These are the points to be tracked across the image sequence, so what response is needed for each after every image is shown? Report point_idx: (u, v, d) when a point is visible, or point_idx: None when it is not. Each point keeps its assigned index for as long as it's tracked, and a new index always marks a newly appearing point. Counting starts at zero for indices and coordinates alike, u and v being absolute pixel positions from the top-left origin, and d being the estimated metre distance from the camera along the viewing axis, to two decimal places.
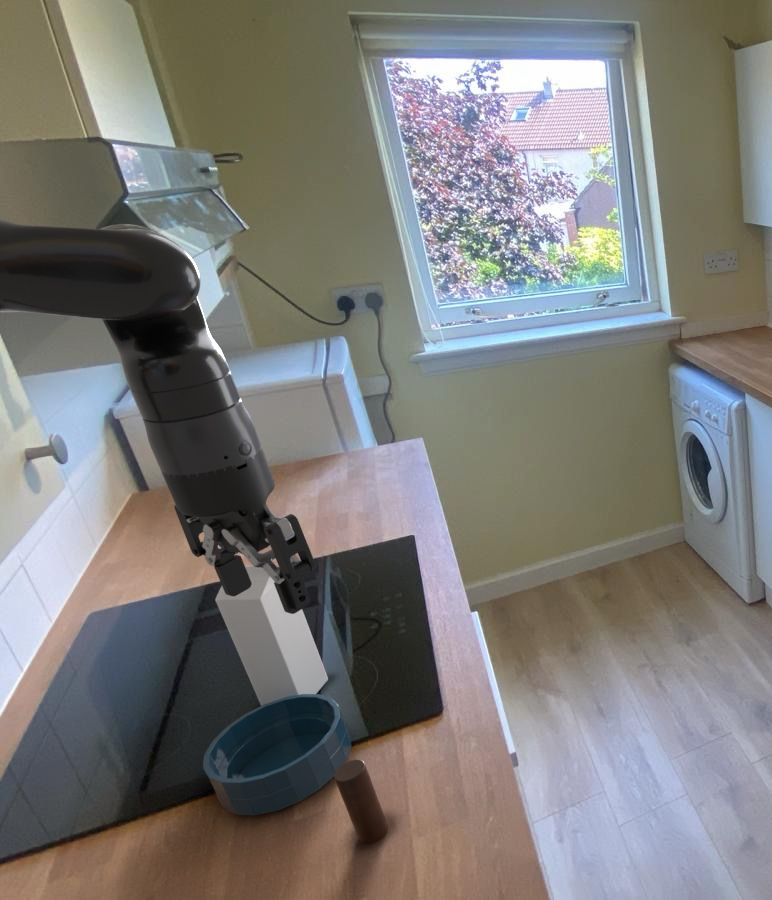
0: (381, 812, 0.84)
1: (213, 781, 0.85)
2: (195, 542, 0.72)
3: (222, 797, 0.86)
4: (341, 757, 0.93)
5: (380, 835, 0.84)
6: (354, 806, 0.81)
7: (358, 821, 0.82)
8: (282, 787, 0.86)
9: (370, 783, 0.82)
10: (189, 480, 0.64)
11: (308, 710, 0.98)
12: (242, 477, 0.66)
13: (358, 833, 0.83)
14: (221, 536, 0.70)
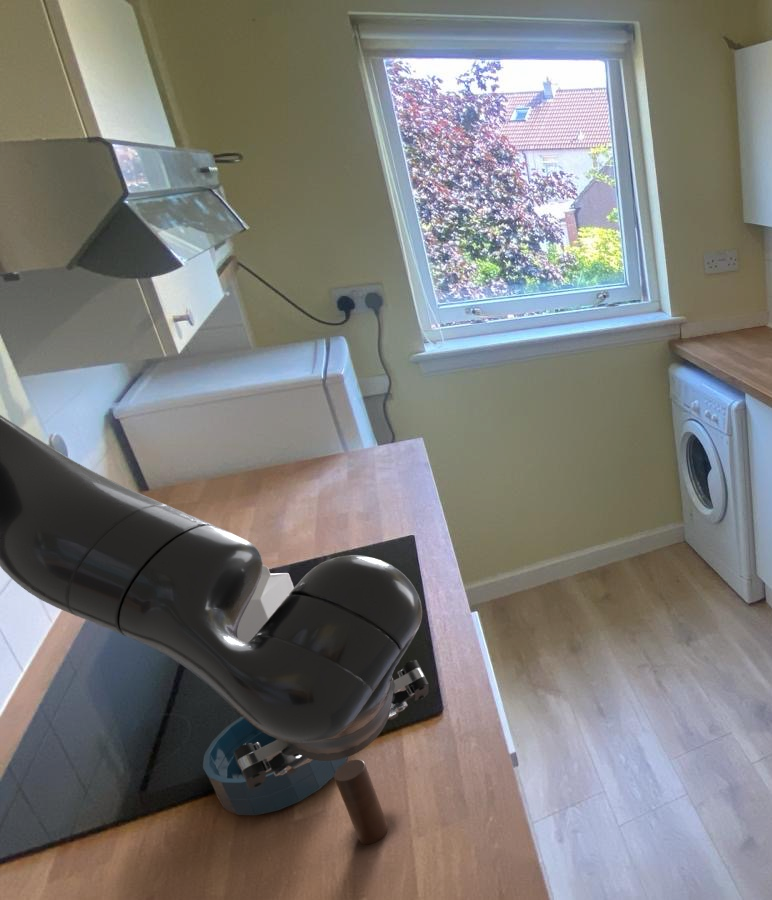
0: (381, 812, 0.84)
1: (213, 781, 0.85)
2: None
3: (222, 797, 0.86)
4: None
5: (380, 835, 0.84)
6: (354, 806, 0.81)
7: (358, 821, 0.82)
8: (282, 787, 0.86)
9: (370, 783, 0.82)
10: None
11: None
12: None
13: (358, 833, 0.83)
14: None
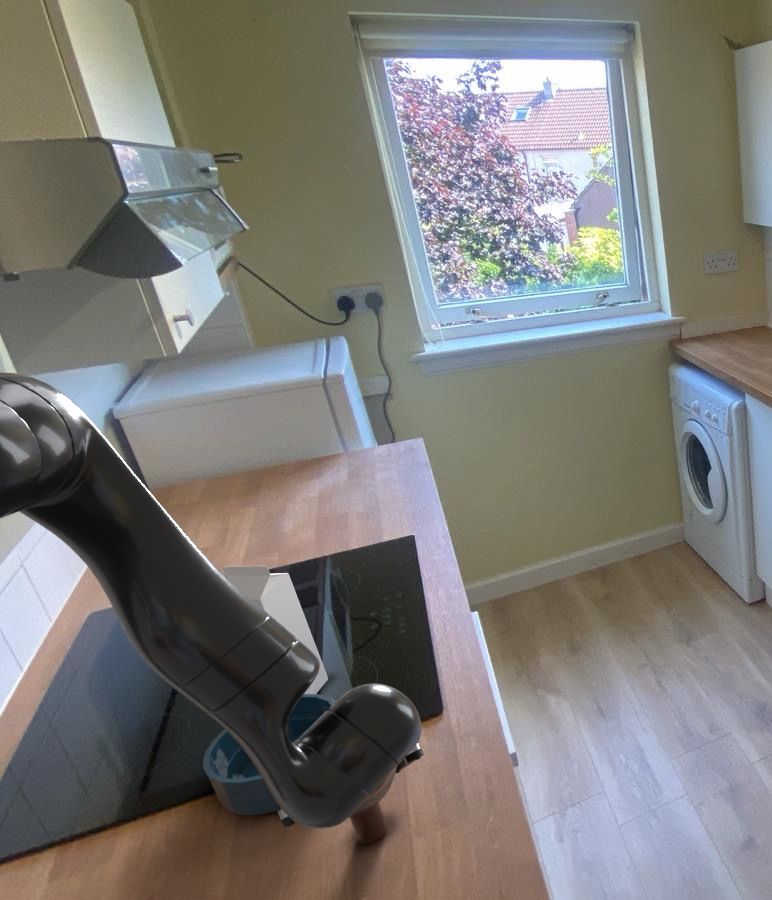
0: (381, 812, 0.84)
1: (213, 781, 0.85)
2: None
3: (222, 797, 0.86)
4: None
5: (379, 835, 0.84)
6: None
7: (358, 822, 0.82)
8: None
9: None
10: None
11: (308, 710, 0.98)
12: None
13: (358, 833, 0.83)
14: None
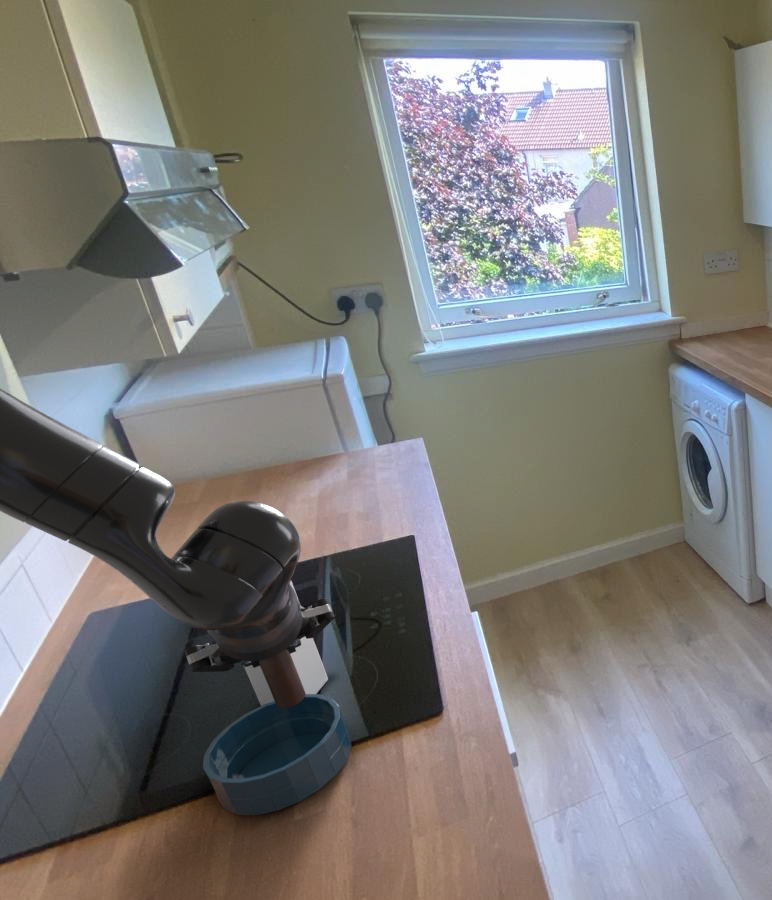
0: (298, 678, 0.87)
1: (213, 781, 0.85)
2: None
3: (222, 797, 0.86)
4: (341, 757, 0.93)
5: (296, 700, 0.87)
6: (269, 668, 0.84)
7: (273, 684, 0.85)
8: (282, 787, 0.86)
9: None
10: None
11: (308, 710, 0.98)
12: None
13: (274, 697, 0.86)
14: None
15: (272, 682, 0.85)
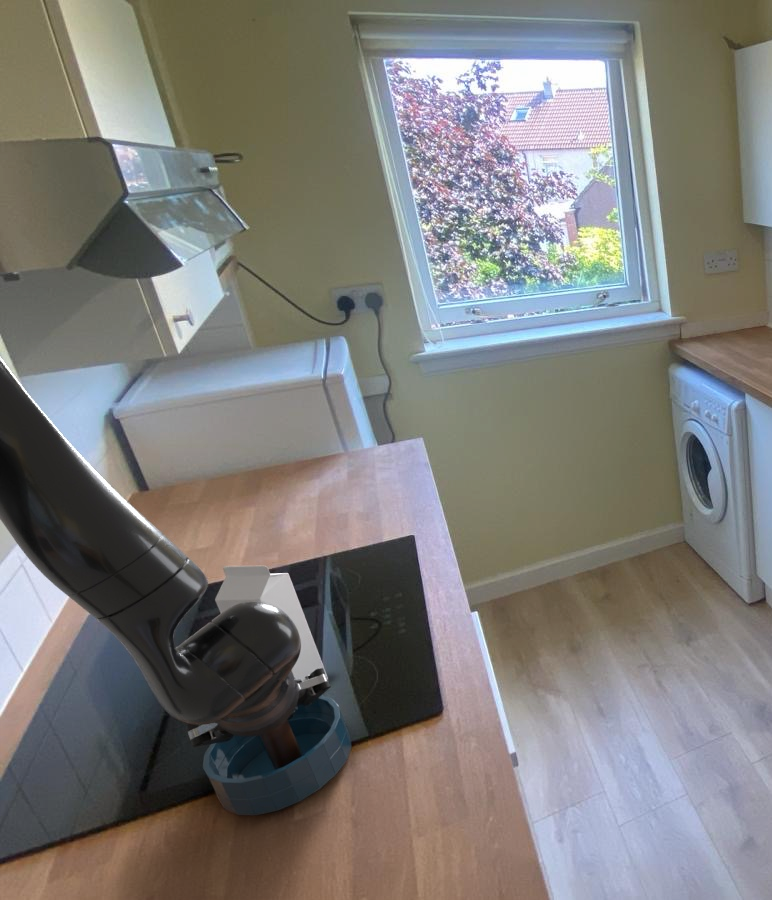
0: (295, 743, 0.90)
1: (213, 781, 0.85)
2: None
3: (222, 797, 0.86)
4: (341, 757, 0.93)
5: None
6: (267, 735, 0.87)
7: (272, 750, 0.88)
8: (282, 787, 0.86)
9: None
10: None
11: (308, 710, 0.98)
12: None
13: (272, 761, 0.89)
14: None
15: (270, 748, 0.88)
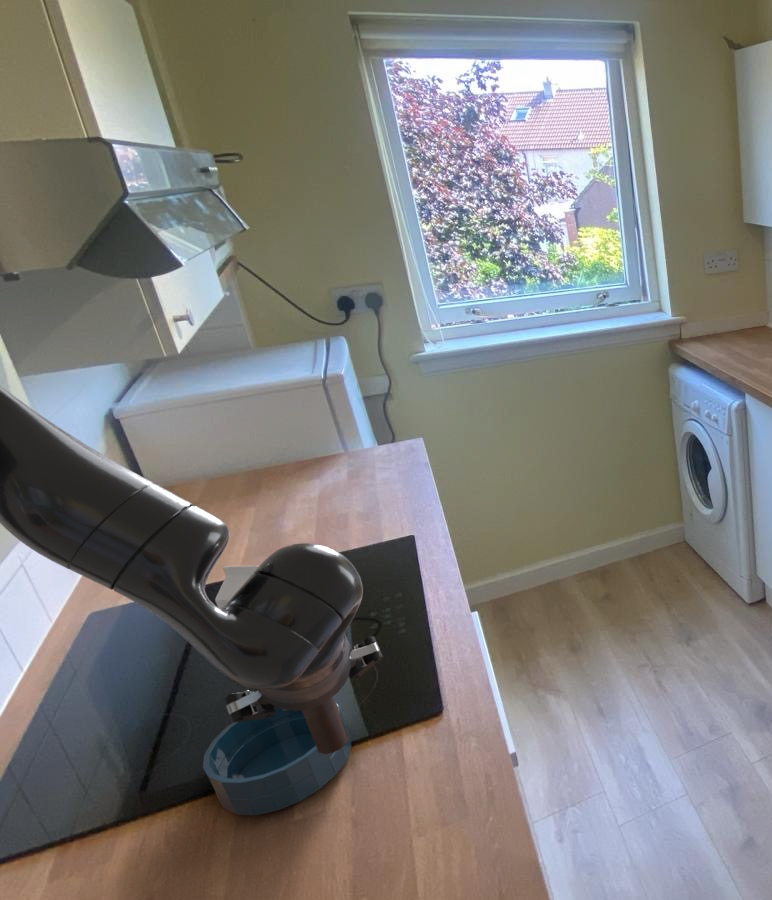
0: (340, 721, 0.81)
1: (213, 781, 0.85)
2: None
3: (222, 797, 0.86)
4: (341, 757, 0.93)
5: (339, 745, 0.81)
6: (311, 712, 0.78)
7: (315, 729, 0.79)
8: (282, 787, 0.86)
9: None
10: None
11: None
12: None
13: (316, 742, 0.80)
14: None
15: (314, 727, 0.79)
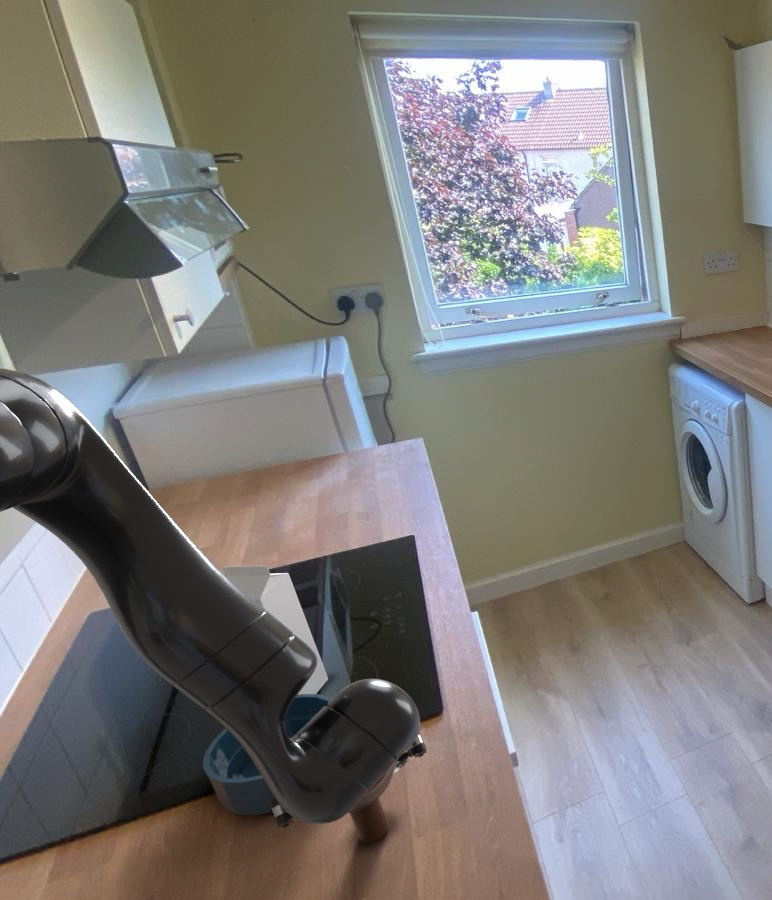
0: (382, 811, 0.84)
1: (213, 781, 0.85)
2: None
3: (222, 797, 0.86)
4: None
5: (381, 835, 0.84)
6: None
7: (359, 821, 0.82)
8: None
9: None
10: None
11: (308, 710, 0.98)
12: None
13: (359, 832, 0.83)
14: None
15: (358, 819, 0.82)
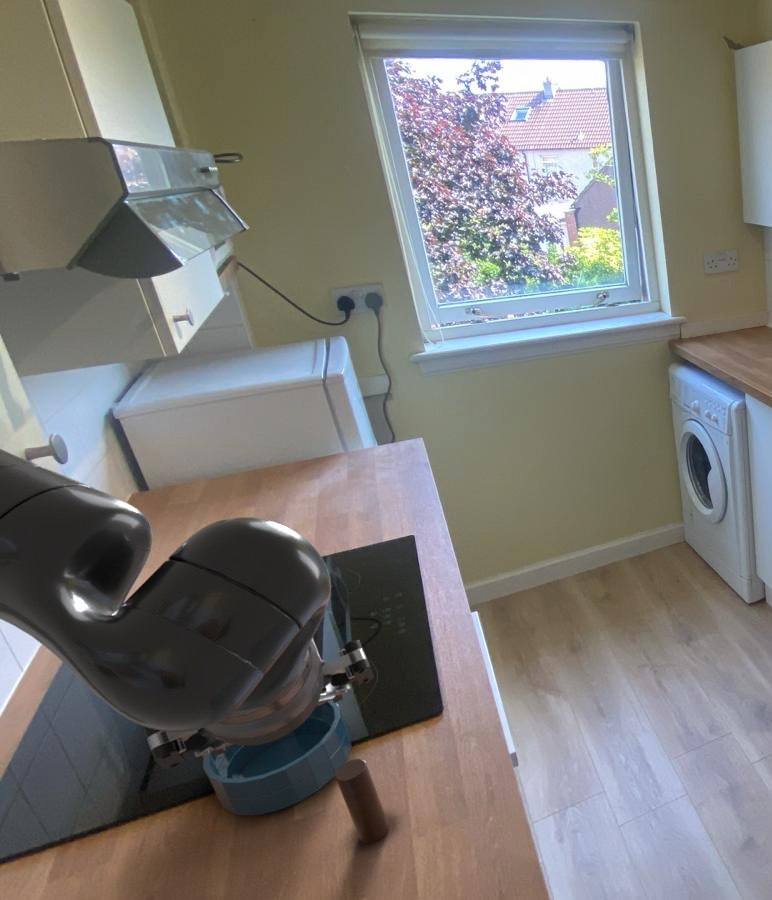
0: (382, 811, 0.84)
1: (213, 781, 0.85)
2: None
3: (222, 797, 0.86)
4: (341, 757, 0.93)
5: (381, 835, 0.84)
6: (356, 805, 0.81)
7: (359, 821, 0.82)
8: (282, 787, 0.86)
9: (371, 782, 0.82)
10: None
11: None
12: None
13: (359, 832, 0.83)
14: None
15: (358, 819, 0.82)
